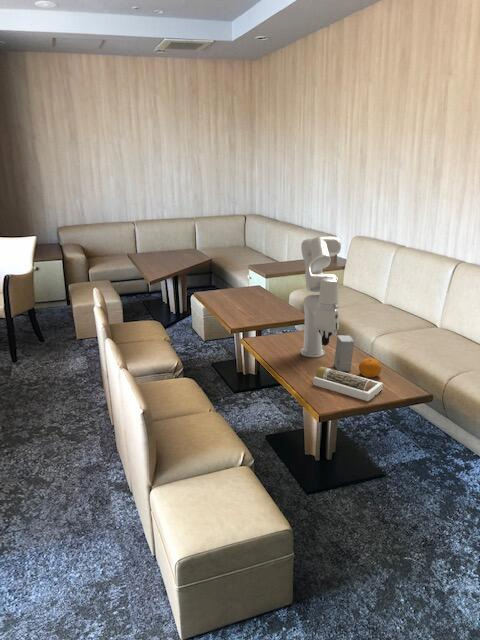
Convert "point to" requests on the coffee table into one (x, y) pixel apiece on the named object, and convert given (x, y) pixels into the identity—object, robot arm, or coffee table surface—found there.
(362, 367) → the fruit
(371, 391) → the u-rest
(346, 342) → the skincare box
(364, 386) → the paper tube
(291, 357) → the coffee table surface
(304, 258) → the robot arm
